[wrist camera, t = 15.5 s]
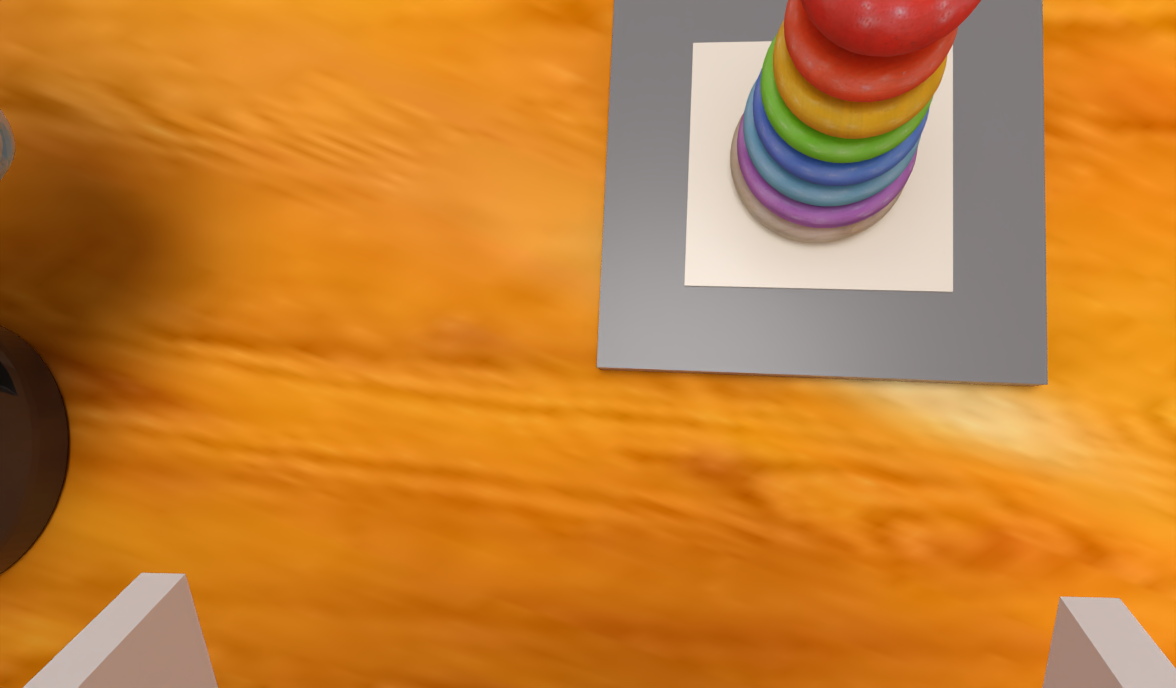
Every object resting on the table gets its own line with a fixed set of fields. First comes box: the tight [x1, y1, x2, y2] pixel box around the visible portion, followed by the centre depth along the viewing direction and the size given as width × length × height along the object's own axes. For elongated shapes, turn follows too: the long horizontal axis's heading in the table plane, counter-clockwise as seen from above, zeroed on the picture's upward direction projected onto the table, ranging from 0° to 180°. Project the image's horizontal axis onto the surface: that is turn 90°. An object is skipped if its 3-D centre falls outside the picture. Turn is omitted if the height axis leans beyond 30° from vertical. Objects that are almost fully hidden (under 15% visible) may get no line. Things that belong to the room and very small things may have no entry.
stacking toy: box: [730, 0, 981, 243], centre depth 27 cm, size 8×8×19 cm
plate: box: [597, 0, 1048, 386], centre depth 37 cm, size 20×20×2 cm
